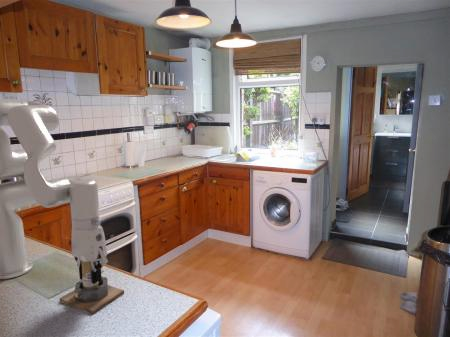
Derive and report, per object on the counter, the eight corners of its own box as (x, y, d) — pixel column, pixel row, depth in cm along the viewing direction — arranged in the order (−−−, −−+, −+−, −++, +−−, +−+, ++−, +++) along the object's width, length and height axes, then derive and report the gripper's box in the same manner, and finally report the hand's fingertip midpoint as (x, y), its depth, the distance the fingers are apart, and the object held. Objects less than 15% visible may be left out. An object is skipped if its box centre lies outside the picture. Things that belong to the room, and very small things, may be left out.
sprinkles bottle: (85, 299, 97) (81, 257, 95) (82, 292, 101) (78, 251, 99) (101, 294, 100) (98, 253, 98) (97, 288, 104) (94, 247, 101)
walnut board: (59, 301, 99) (59, 298, 98) (92, 282, 109) (92, 279, 109) (93, 314, 92) (92, 311, 92) (124, 293, 103) (123, 290, 103)
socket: (66, 299, 98) (65, 288, 97) (96, 282, 107) (95, 272, 107) (88, 307, 94) (87, 296, 93) (116, 289, 103) (115, 278, 103)
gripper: (117, 222, 96) (120, 280, 99) (77, 214, 104) (81, 268, 107) (96, 231, 89) (101, 292, 93) (55, 221, 97) (61, 278, 100)
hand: (90, 279), depth 100 cm, fingers closed on sprinkles bottle, 4 cm apart
